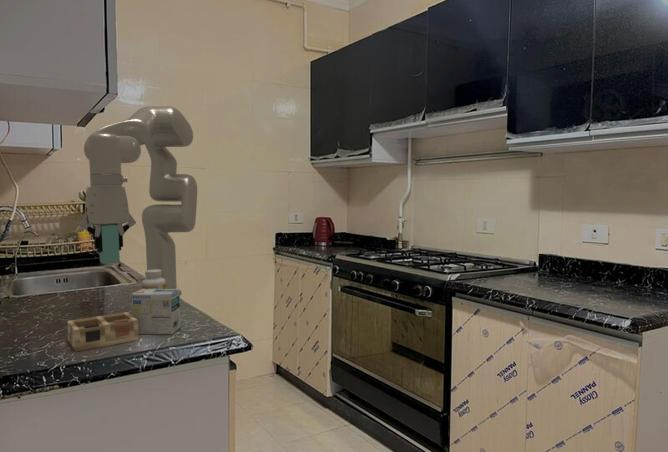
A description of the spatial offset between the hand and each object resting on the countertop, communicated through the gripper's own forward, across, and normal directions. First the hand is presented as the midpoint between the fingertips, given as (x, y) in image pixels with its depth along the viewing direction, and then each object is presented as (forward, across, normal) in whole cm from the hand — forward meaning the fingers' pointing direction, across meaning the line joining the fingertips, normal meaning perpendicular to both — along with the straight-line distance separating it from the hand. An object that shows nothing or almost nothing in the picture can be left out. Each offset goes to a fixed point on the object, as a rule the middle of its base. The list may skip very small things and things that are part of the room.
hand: (109, 250), depth 131 cm
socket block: (+21, +4, +10) cm, 24 cm away
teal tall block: (+3, 0, 0) cm, 3 cm away
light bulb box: (+21, -9, +10) cm, 25 cm away
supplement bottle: (+21, -14, -9) cm, 27 cm away
